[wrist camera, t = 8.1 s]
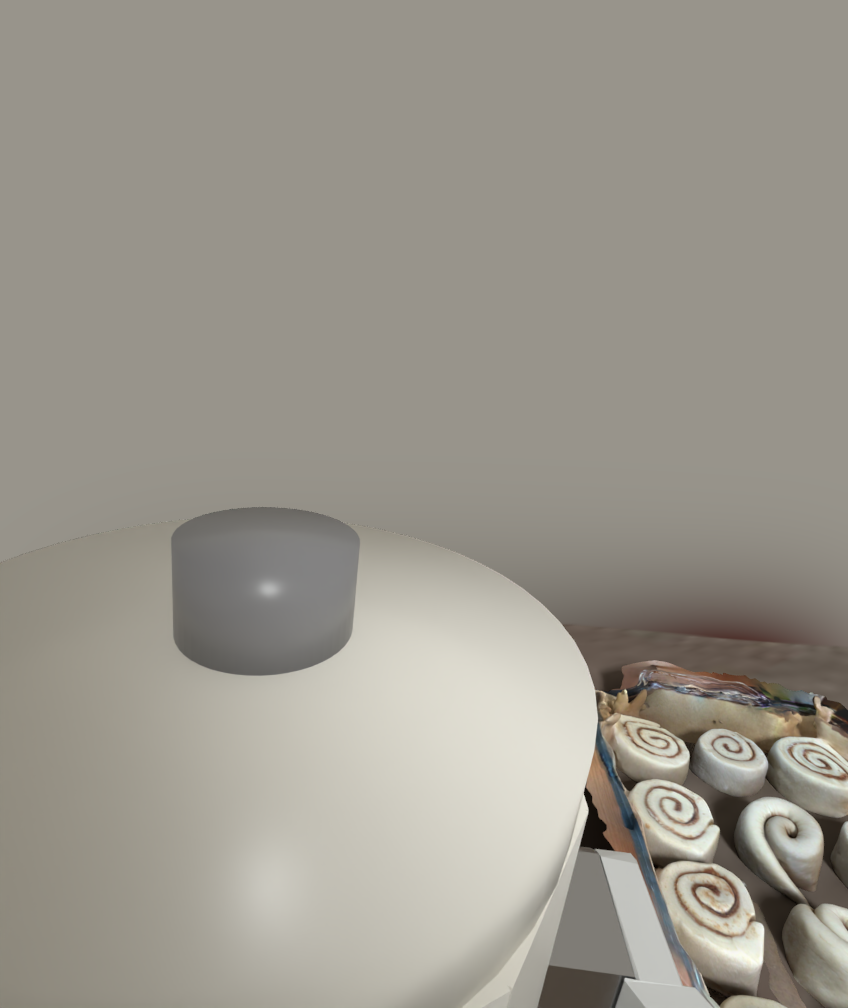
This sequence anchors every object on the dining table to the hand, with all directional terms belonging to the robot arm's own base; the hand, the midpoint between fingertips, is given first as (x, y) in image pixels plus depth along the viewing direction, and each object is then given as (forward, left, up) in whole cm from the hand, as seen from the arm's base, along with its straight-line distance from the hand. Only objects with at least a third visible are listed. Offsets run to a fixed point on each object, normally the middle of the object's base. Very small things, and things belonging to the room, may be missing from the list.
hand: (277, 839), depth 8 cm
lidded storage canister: (0, -1, -5) cm, 5 cm away
